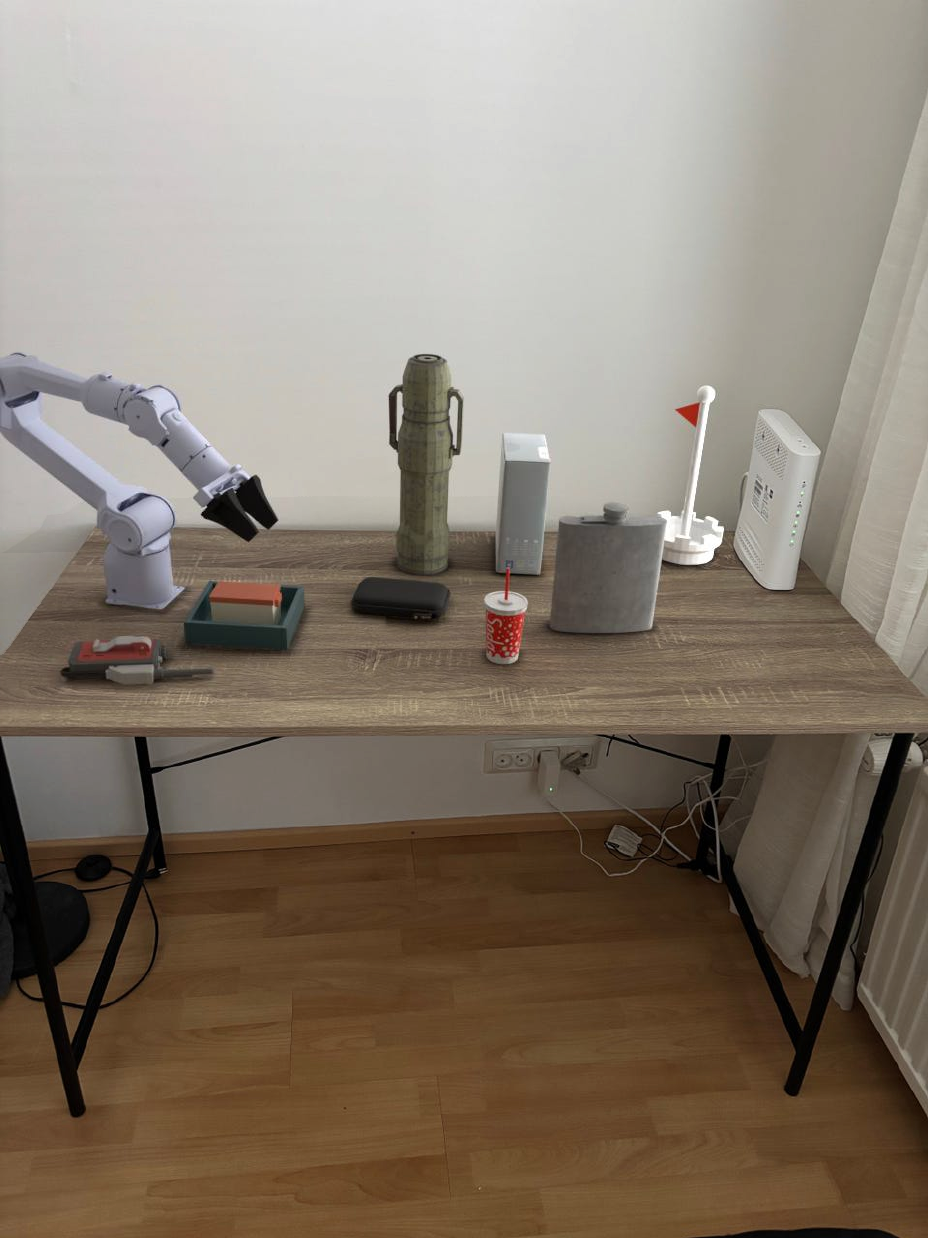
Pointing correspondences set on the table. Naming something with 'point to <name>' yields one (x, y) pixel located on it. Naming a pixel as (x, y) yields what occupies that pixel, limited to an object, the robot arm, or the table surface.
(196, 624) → the tray
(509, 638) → the beverage cup
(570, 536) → the hip flask
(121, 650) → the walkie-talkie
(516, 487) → the hard drive box
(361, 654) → the table surface
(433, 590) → the carrying case
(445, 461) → the thermos
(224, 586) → the lunchbox
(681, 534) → the flag stand
